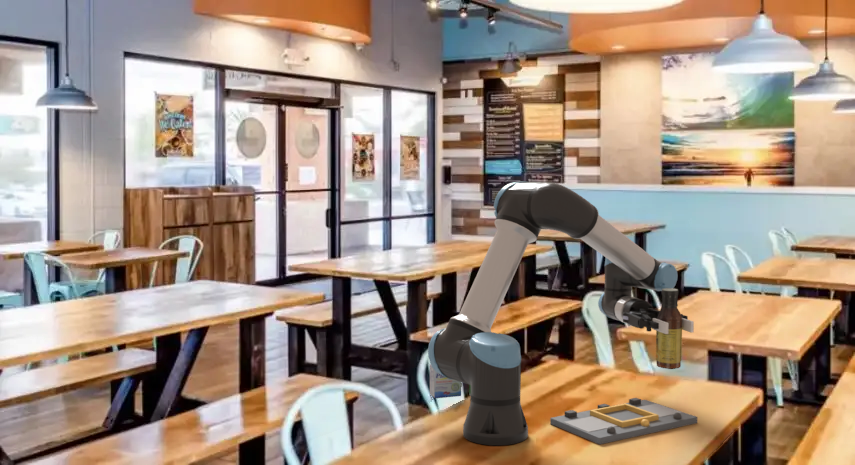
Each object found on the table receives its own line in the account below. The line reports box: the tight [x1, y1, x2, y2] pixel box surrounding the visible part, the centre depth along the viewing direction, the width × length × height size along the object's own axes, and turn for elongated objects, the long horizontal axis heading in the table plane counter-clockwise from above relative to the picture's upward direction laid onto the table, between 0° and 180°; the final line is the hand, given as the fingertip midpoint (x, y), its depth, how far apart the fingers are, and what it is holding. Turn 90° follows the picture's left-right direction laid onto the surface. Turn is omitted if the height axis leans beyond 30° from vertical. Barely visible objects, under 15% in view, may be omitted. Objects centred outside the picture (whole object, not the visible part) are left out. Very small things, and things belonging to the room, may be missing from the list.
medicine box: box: [429, 364, 462, 399], centre depth 242 cm, size 8×4×9 cm, turn 105°
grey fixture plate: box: [549, 397, 698, 445], centre depth 216 cm, size 31×18×3 cm, turn 120°
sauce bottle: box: [655, 287, 683, 370], centre depth 222 cm, size 7×6×20 cm
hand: (679, 327), depth 217 cm, fingers closed on sauce bottle, 6 cm apart
